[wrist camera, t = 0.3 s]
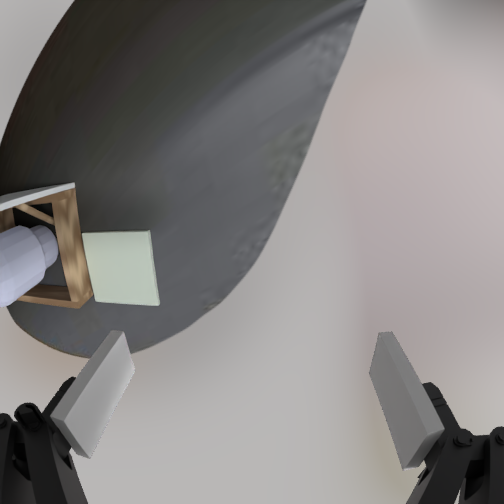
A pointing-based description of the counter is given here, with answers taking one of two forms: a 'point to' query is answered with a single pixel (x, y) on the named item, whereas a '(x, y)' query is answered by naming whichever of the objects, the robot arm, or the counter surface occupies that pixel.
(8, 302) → the soap bottle
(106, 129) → the counter surface
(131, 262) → the trivet
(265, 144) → the counter surface
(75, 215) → the frame
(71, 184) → the lid
